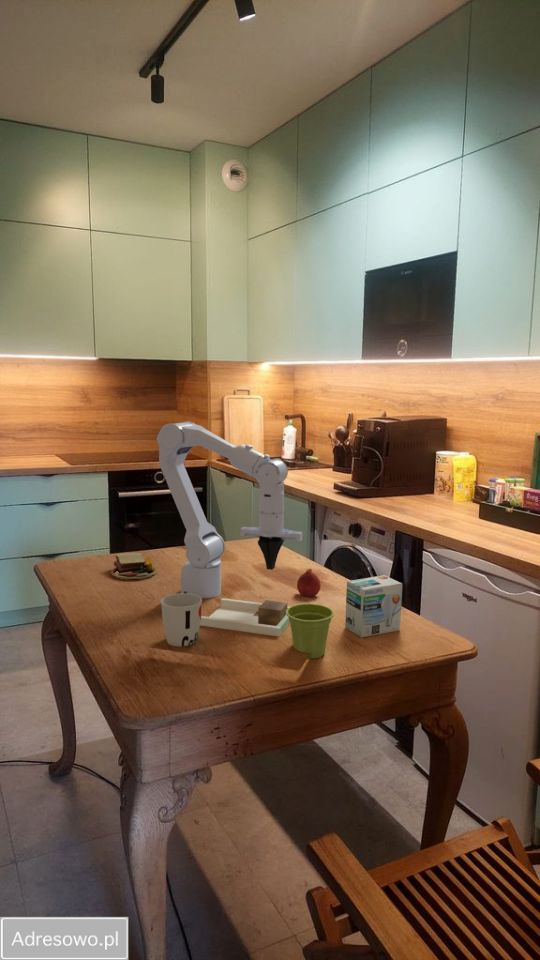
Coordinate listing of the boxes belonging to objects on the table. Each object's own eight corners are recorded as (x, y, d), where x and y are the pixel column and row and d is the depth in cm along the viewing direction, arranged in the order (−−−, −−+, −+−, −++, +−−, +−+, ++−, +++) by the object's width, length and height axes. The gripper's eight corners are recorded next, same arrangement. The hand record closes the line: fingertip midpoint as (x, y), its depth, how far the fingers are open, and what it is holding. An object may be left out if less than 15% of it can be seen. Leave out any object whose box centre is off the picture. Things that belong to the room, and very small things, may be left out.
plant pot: (298, 666, 122) (299, 623, 121) (277, 647, 131) (278, 606, 129) (341, 658, 126) (342, 616, 124) (318, 640, 134) (319, 601, 133)
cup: (184, 659, 125) (184, 610, 123) (153, 649, 129) (152, 601, 127) (210, 644, 131) (210, 598, 130) (179, 636, 136) (179, 590, 134)
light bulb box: (361, 638, 136) (363, 589, 134) (343, 627, 142) (345, 580, 140) (401, 630, 141) (403, 582, 139) (382, 619, 146) (384, 574, 145)
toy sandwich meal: (111, 583, 170) (111, 566, 170) (110, 568, 183) (109, 552, 182) (159, 580, 174) (159, 563, 173) (154, 565, 186) (154, 550, 186)
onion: (318, 604, 155) (319, 573, 154) (295, 602, 156) (295, 571, 155) (321, 596, 161) (322, 566, 160) (298, 595, 162) (299, 564, 161)
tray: (199, 631, 138) (199, 617, 138) (222, 611, 150) (222, 598, 150) (279, 643, 133) (279, 628, 132) (296, 621, 145) (296, 607, 144)
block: (258, 625, 138) (258, 607, 137) (265, 617, 143) (265, 600, 142) (280, 628, 137) (280, 610, 136) (286, 620, 141) (287, 602, 141)
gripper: (236, 512, 147) (235, 569, 149) (296, 517, 143) (295, 576, 145) (246, 506, 154) (246, 561, 156) (305, 511, 149) (304, 567, 152)
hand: (270, 568), depth 151 cm, fingers closed
